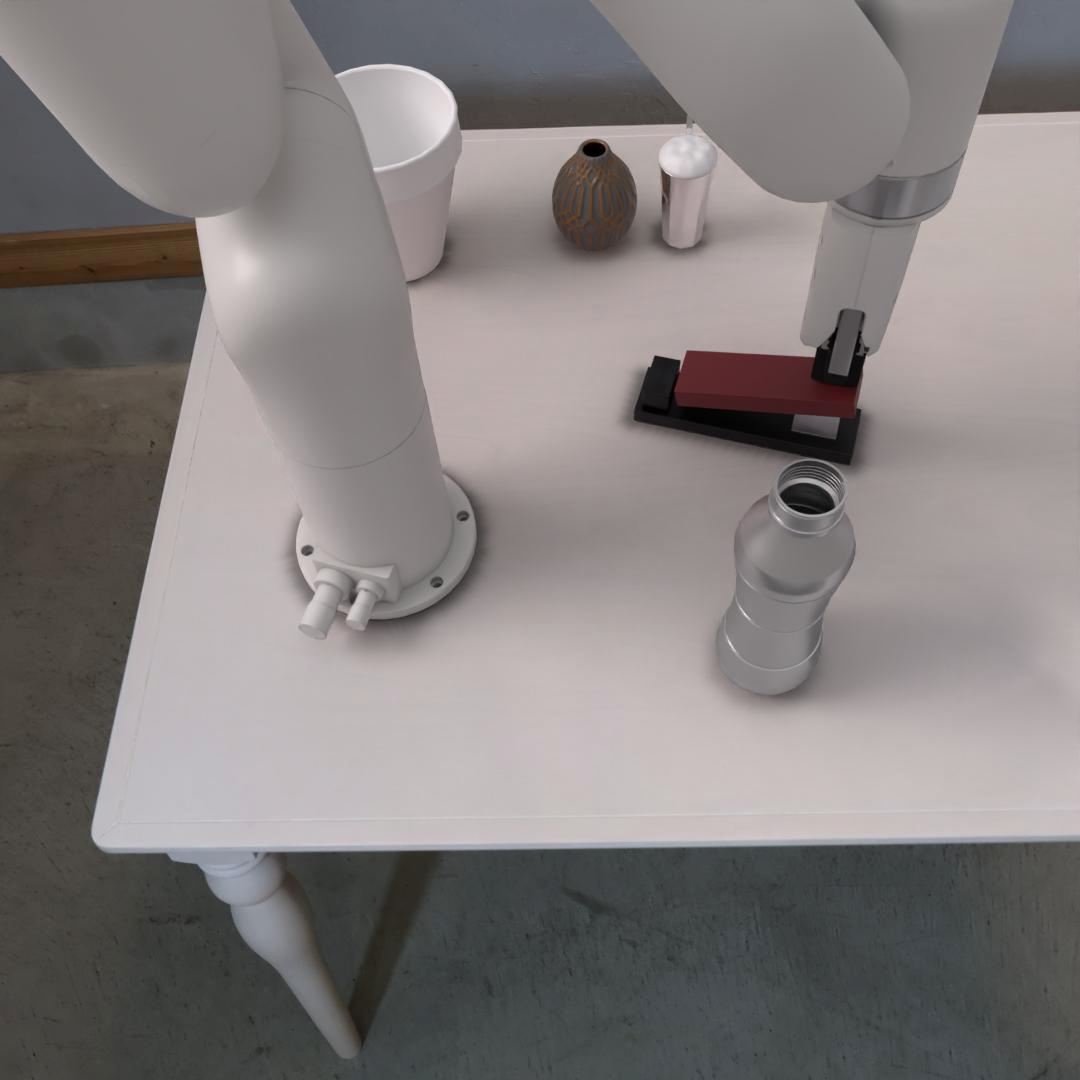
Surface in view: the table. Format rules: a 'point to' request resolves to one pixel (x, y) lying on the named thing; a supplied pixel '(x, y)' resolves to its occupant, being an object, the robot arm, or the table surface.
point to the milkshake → (685, 186)
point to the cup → (409, 153)
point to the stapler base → (744, 420)
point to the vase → (594, 197)
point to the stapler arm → (761, 385)
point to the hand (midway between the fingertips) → (835, 374)
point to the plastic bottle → (786, 578)
